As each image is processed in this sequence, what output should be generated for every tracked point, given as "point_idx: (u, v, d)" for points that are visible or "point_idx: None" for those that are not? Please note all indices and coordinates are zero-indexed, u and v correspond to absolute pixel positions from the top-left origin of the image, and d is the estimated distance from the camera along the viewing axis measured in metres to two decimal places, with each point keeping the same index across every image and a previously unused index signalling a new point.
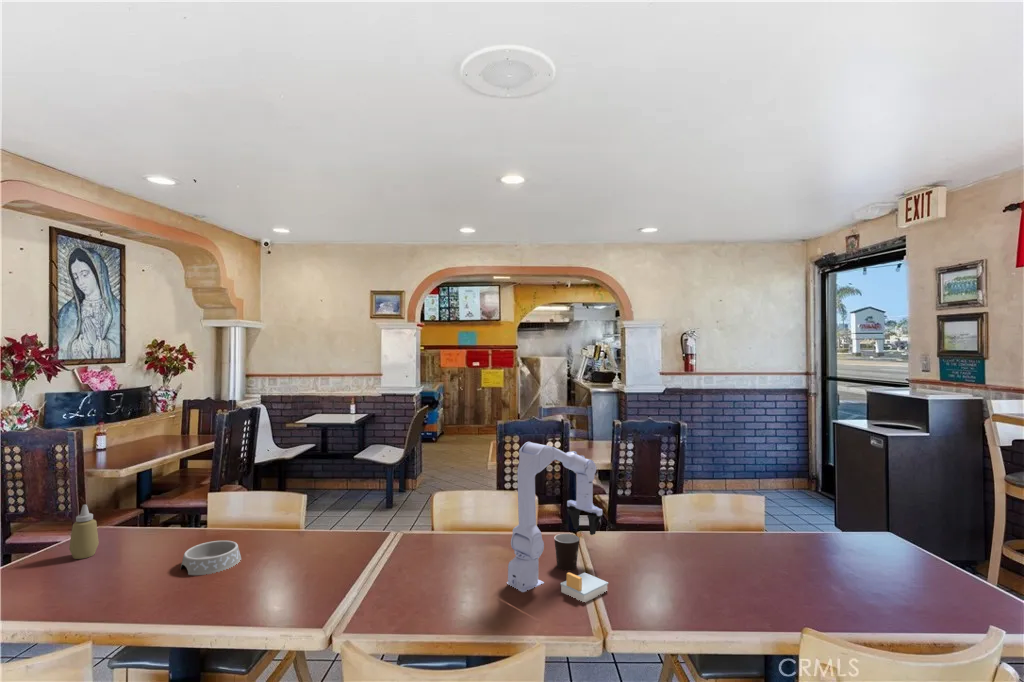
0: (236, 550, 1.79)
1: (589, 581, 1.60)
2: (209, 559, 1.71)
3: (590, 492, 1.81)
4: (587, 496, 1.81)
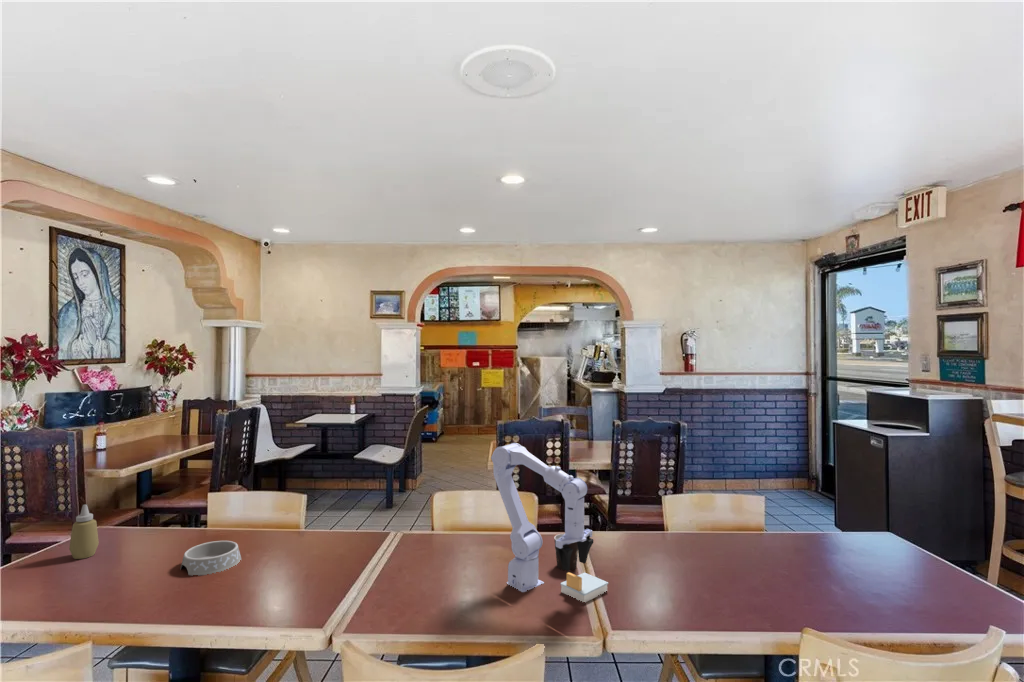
0: (236, 550, 1.79)
1: (589, 581, 1.60)
2: (209, 559, 1.70)
3: (569, 520, 1.54)
4: (565, 523, 1.55)
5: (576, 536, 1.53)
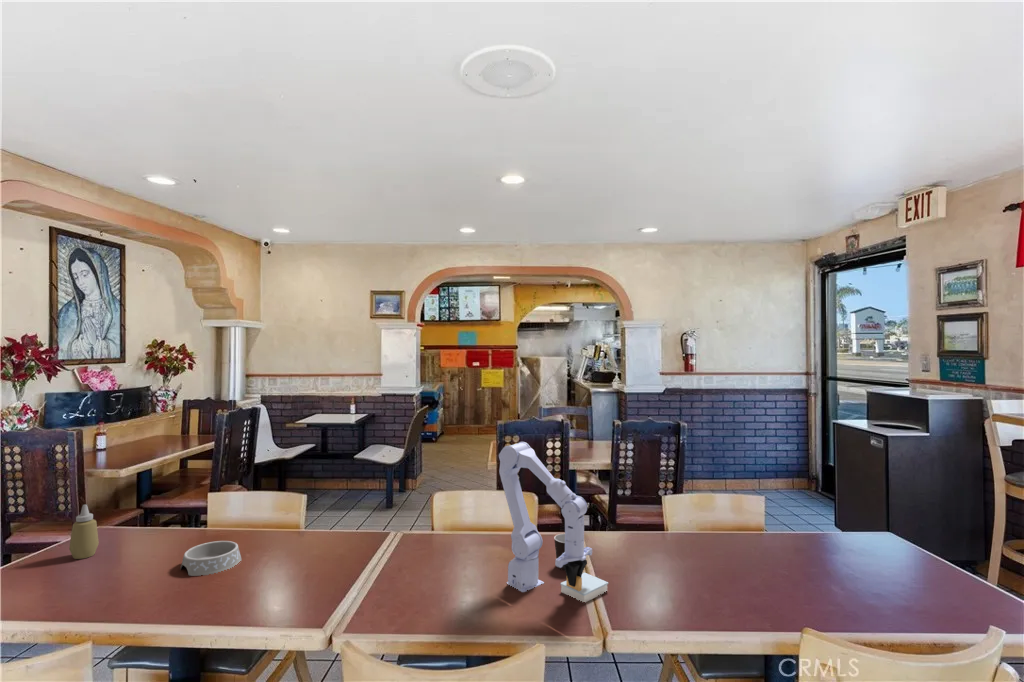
0: (236, 550, 1.78)
1: (589, 581, 1.60)
2: (209, 559, 1.70)
3: (569, 539, 1.54)
4: (565, 541, 1.55)
5: (576, 555, 1.53)
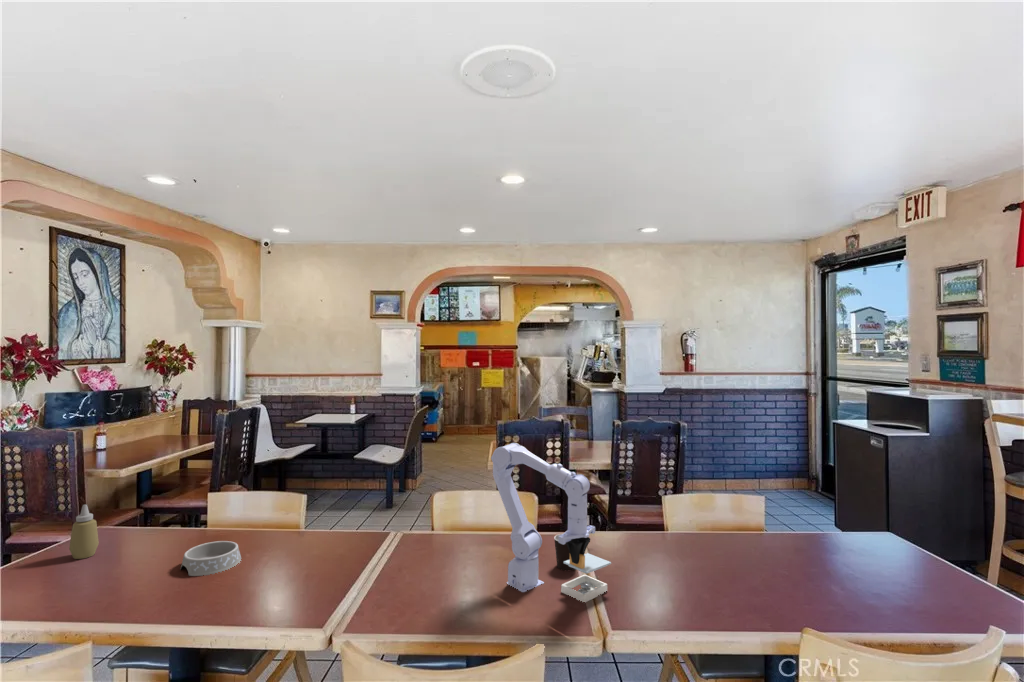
0: (236, 550, 1.78)
1: (592, 561, 1.60)
2: (209, 560, 1.70)
3: (573, 517, 1.54)
4: (568, 519, 1.56)
5: (579, 532, 1.54)
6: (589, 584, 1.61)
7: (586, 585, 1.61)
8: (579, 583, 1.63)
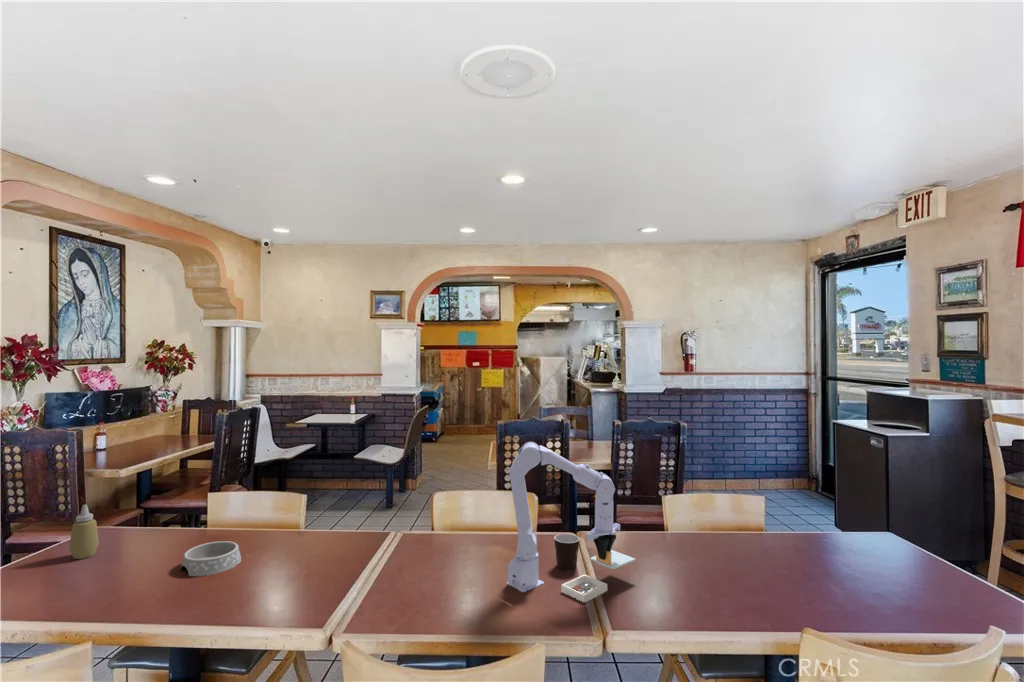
0: (236, 551, 1.78)
1: (617, 557, 1.68)
2: (210, 560, 1.70)
3: (604, 515, 1.61)
4: (595, 517, 1.63)
5: (606, 529, 1.61)
6: (589, 584, 1.62)
7: (586, 584, 1.61)
8: (579, 583, 1.63)
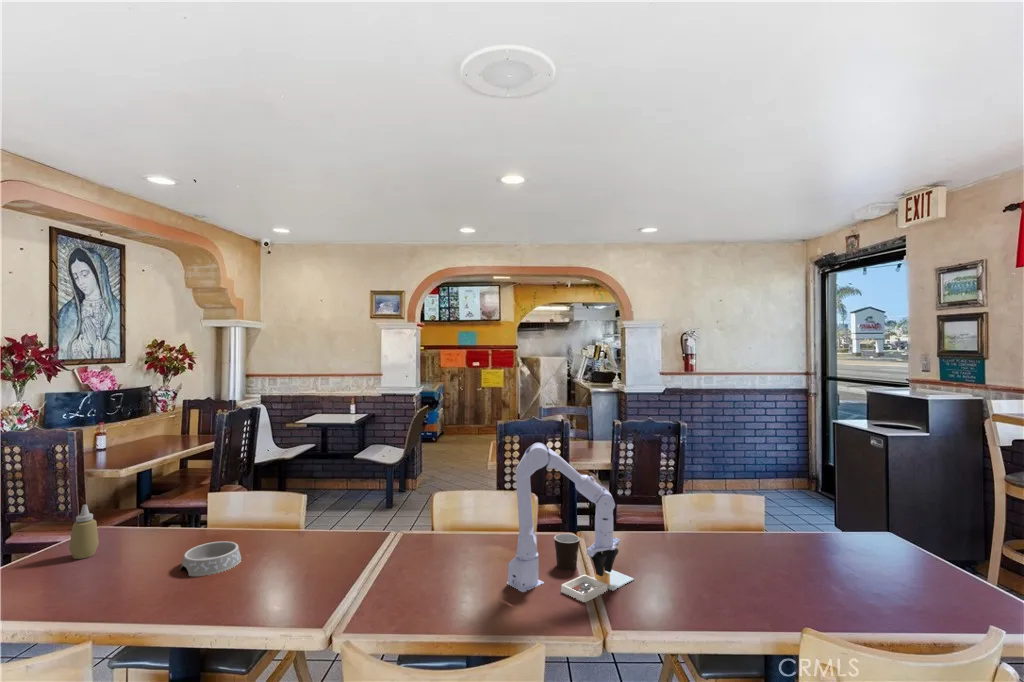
0: (236, 551, 1.78)
1: (616, 577, 1.67)
2: (210, 560, 1.70)
3: (604, 530, 1.61)
4: (595, 532, 1.63)
5: (606, 545, 1.61)
6: (589, 583, 1.62)
7: (587, 584, 1.61)
8: (579, 583, 1.63)
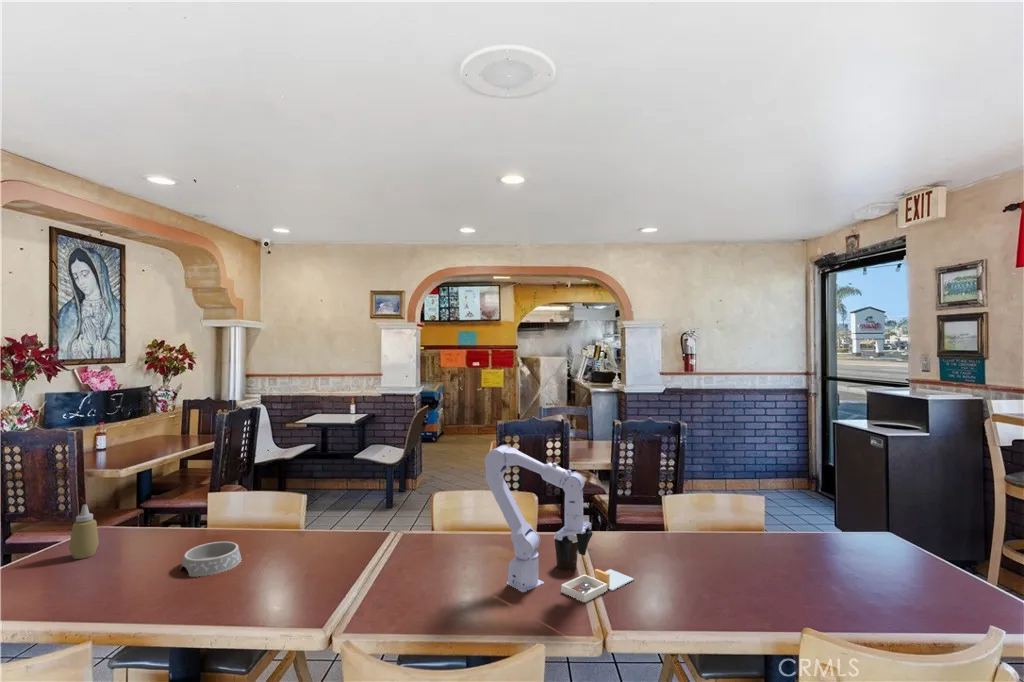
0: (237, 551, 1.78)
1: (616, 578, 1.67)
2: (210, 560, 1.70)
3: (571, 513, 1.57)
4: (565, 515, 1.59)
5: (575, 528, 1.57)
6: (589, 583, 1.62)
7: (587, 584, 1.61)
8: (579, 583, 1.63)
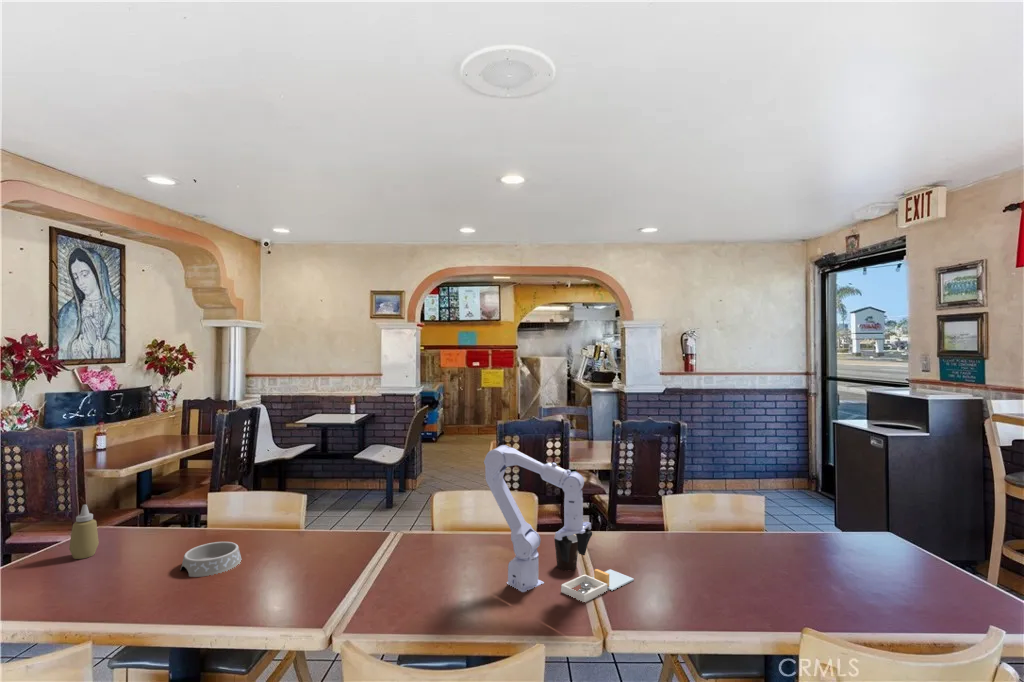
0: (237, 551, 1.78)
1: (616, 578, 1.67)
2: (210, 560, 1.70)
3: (570, 513, 1.57)
4: (564, 515, 1.59)
5: (575, 528, 1.57)
6: (588, 583, 1.62)
7: (587, 584, 1.61)
8: (579, 583, 1.63)
